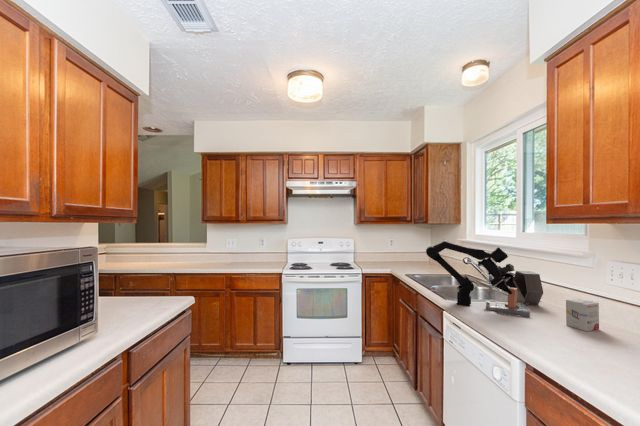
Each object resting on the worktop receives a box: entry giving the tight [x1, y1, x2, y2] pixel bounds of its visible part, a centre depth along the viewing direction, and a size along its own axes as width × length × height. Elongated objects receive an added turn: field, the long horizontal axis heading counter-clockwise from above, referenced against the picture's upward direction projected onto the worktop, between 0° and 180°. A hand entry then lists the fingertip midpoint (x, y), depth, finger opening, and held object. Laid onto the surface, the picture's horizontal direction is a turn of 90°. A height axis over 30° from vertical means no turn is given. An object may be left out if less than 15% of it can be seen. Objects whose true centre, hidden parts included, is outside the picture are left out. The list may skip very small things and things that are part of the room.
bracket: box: [485, 300, 497, 312], centre depth 164 cm, size 5×2×4 cm, turn 62°
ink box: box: [565, 298, 600, 332], centre depth 139 cm, size 9×9×12 cm
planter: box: [514, 270, 544, 306], centre depth 179 cm, size 17×8×21 cm
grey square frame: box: [495, 301, 531, 318], centre depth 162 cm, size 14×14×2 cm
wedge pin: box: [507, 287, 518, 308], centre depth 161 cm, size 3×4×12 cm
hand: (514, 292), depth 161 cm, fingers open, 9 cm apart
